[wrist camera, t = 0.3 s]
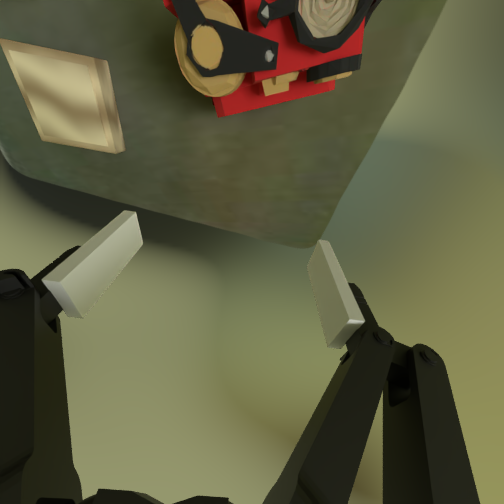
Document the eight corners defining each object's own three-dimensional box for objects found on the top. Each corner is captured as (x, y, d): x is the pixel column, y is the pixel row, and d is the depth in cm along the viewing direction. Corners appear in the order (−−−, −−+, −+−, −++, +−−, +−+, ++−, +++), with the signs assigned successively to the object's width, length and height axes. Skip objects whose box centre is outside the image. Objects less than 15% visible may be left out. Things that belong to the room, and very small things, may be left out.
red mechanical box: (224, 112, 33) (188, 128, 17) (202, 21, 27) (115, -89, 11) (324, 88, 30) (392, 79, 14) (326, -19, 24) (446, -234, 8)
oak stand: (19, 42, 28) (-5, 37, 26) (107, 60, 29) (92, 57, 27) (56, 137, 36) (40, 140, 33) (125, 150, 37) (115, 154, 34)
